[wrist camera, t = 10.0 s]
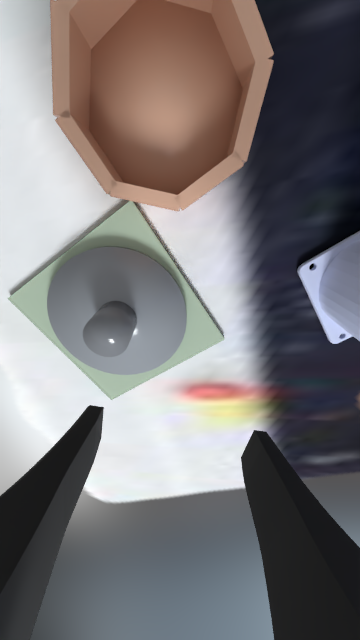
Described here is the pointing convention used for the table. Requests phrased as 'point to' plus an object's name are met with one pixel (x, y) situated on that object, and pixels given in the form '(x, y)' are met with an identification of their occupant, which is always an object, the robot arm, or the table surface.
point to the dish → (159, 92)
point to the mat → (138, 235)
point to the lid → (117, 310)
